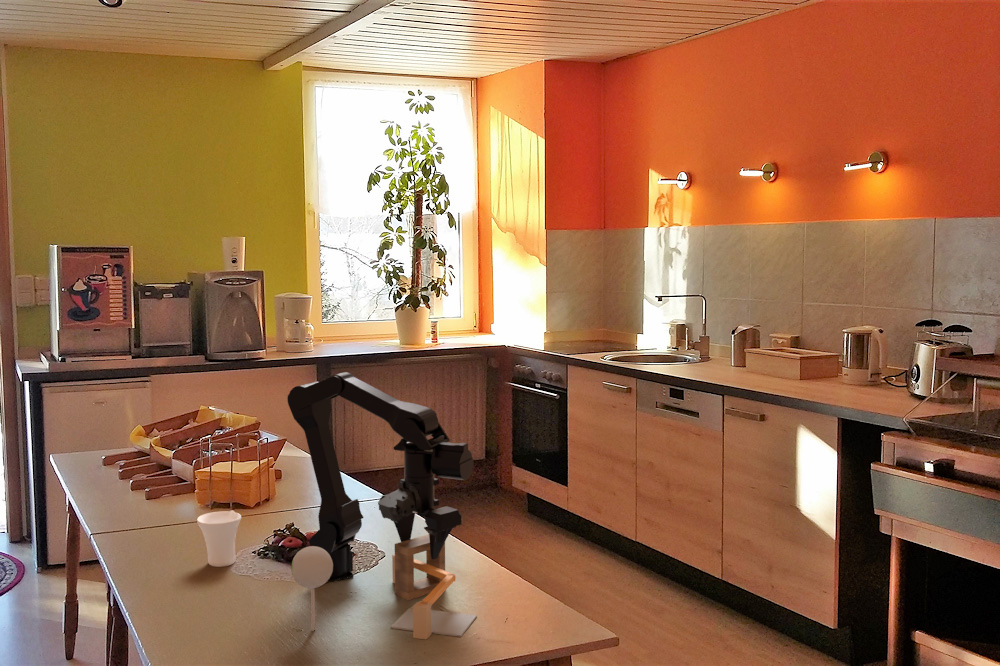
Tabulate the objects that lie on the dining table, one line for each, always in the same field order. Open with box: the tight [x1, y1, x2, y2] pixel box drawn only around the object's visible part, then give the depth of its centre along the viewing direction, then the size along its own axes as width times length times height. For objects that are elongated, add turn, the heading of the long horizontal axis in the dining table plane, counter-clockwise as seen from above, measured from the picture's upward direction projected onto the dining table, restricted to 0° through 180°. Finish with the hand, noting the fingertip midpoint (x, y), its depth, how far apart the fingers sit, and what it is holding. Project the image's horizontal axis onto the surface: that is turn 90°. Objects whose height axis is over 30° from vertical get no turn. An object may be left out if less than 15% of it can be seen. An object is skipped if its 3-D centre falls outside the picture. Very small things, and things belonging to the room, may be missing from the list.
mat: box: [390, 607, 477, 638], centre depth 176 cm, size 9×13×1 cm
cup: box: [196, 509, 242, 568], centre depth 207 cm, size 9×9×10 cm
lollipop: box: [290, 545, 333, 632], centre depth 172 cm, size 7×7×15 cm
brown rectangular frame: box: [394, 533, 446, 601], centre depth 191 cm, size 4×9×10 cm, turn 134°
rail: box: [391, 554, 456, 640], centre depth 183 cm, size 13×28×6 cm, turn 29°
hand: (419, 553), depth 191 cm, fingers open, 8 cm apart
